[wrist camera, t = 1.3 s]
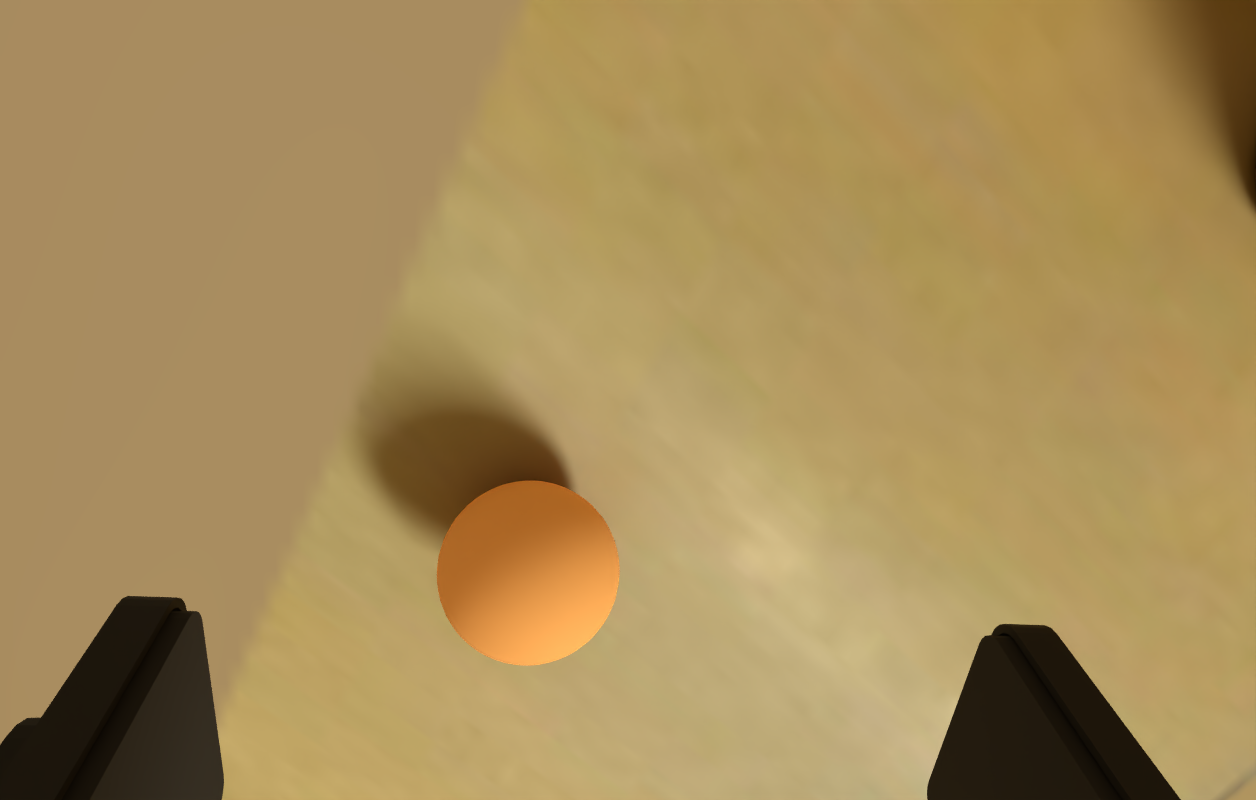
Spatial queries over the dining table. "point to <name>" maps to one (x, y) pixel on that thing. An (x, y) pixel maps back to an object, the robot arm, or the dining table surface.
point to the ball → (528, 572)
